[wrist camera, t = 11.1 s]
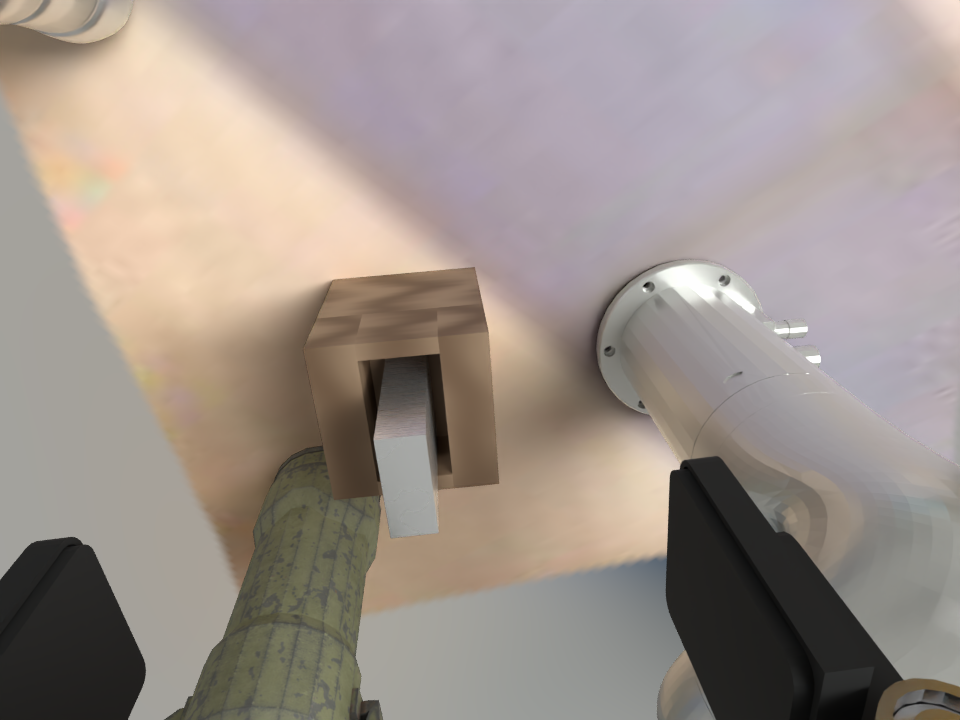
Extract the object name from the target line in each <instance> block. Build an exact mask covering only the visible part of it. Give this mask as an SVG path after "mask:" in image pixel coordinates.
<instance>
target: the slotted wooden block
mask: <svg viewBox="0 0 960 720" xmlns="http://www.w3.org/2000/svg"><path fill="white" fill-rule="evenodd" d="M303 352H304V357H305V362H306V366H307V371H308V376H309V381H310V386H311V391H312V396H313V401H314V405H315V410H316V415H317V420H318V425H319V430H320V435H321V440H322V444H323V449H324V454H325V459H326V464H327V469H328V474H329V478H330V483H331V488H332V493H333V498H334V500H340V499H350V498H360V497H370V496H380V495H383V492H382V486H381V480H380V474H379V469H378V463H377V457H376V451H375V446H374V433H375V427H376V420H377V413H378V407H379V400H380V393H381V387H382V380H383V373H384V366H385V360H386V358H397V357H408V356H419V355H427V357H428V365H429V373H430V381H431V389H432V397H433V405H434V413H435V421H436V429H437V466H438V490H440V489H450V488H460V487H470V486H480V485H490V484H499V476H498V461H497V447H496V433H495V418H494V404H493V389H492V375H491V360H490V346H489V332H488V327H487V323H486V318H485V313H484V309H483V304H482V299H481V295H480V290H479V285H478V280H477V276H476V271H475V267H473V268H462V269H451V270H439V271H428V272H417V273H405V274H394V275H383V276H371V277H360V278H349V279H337V280H333V282H332V284H331V286H330V289H329V291H328V293H327V295H326V298H325V300H324V302H323V305H322V307H321V309H320V311H319V314H318V316H317V318H316V321H315V323H314V325H313V327H312V330H311V332H310V334H309V336H308V339H307V341H306V343H305V346H304V348H303Z"/></svg>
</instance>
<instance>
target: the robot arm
mask: <svg viewBox="0 0 960 720" xmlns="http://www.w3.org/2000/svg"><path fill="white" fill-rule="evenodd" d="M721 276H722V278H721V279H720V280H719V278H720V277H721ZM646 282H648V285H647V286H645V287H644V286H643V285H644V284H645V283H646ZM806 333H807V325H806V322H805V321H804V319H792V320H784V321H780V322H774V321H773V320H772V319H770V318H769V317H767V316H766V315H765V314H764V313H763V310H762V306H761V303H760V301H759V299H758V297H757V295H756V293H755V292H754V290H753V289H752V288H751V287H750V286H749V285H748V283H747V282H746V281H745V280H744V279H742V278H741V277H740V276H738V275H737V274H736V273H734V272H733V271H731V270H729V269H727V268H726V267H724V266H722V265H719V264H716V263H713V262H709V261H703V260H694V259H690V260H679V261H673V262H669V263H666V264H662V265H659V266H656V267H654V268H652V269H650V270H648V271H646V272H644V273H642V274H641V275H639V276H638V277H637V278H635V279H634V280H632V281H631V282H629V283H628V284H627V285H626V286H625V287H624V288H623V289H622V290H621V291H620V292H619V293H618V294H617V296H616V297H615V298H614V300H613V301H612V303H611V304H610V305H609V307H608V308H607V310H606V313H605V315H604V317H603V319H602V321H601V324H600V328H599V331H598V335H597V347H596V353H597V359H598V365H599V368H600V371H601V373H602V376H603V378H604V380H605V382H606V383H607V385H608V387H609V389H610V390H611V391H612V392H613V393H614V394H615V396H616V397H617V398H618V399H619V400H620V401H622V402H623V403H624V404H626V405H627V406H628V407H630V408H632V409H634V410H636V411H638V412H641V413H644V414H648V415H650V416H651V417H652V419H653V421H654V422H655V424H656V425H657V427H658V429H659V430H660V432H661V434H662V435H663V437H664V438H665V440H666V442H667V443H668V445H669V447H670V448H671V450H672V451H673V453H674V455H675V456H676V458H677V459H678V461H679V463H680V464H681V465H680V470H673V471H671V474H670V488H669V515H668V543H667V571H666V600H667V605H668V609H669V613H670V615H671V618H672V620H673V623H674V625H675V627H676V629H677V632H678V634H679V636H680V638H681V641H682V643H683V646H684V648H685V650H684V651H683V652H682V653H681V654H680V656H679V657H678V658H677V659H676V660H675V662H674V663H673V664H672V666H671V667H670V668H669V670H668V671H667V673H666V675H665V677H664V679H663V682H662V684H661V686H660V690H659V694H658V700H657V718H658V720H960V466H959V465H957V464H956V463H954V462H952V461H950V460H948V459H947V458H945V457H943V456H941V455H940V454H938V453H936V452H935V451H933V450H931V449H930V448H928V447H926V446H925V445H923V444H922V443H920V442H918V441H917V440H915V439H913V438H912V437H910V436H908V435H907V434H905V433H904V432H903V431H901V430H900V429H898V428H897V427H896V426H894V425H893V424H891V423H890V422H889V421H887V420H886V419H884V418H883V417H882V416H880V415H879V414H877V413H876V412H875V411H873V410H872V409H871V408H869V407H868V406H867V405H865V404H864V403H863V402H862V401H860V400H859V399H858V398H856V397H855V396H854V395H853V394H851V393H850V392H849V391H848V390H846V389H845V388H844V387H842V386H841V385H840V384H839V383H837V382H836V381H835V380H834V379H832V378H831V377H830V376H828V375H827V374H826V373H825V372H823V371H822V370H821V369H820V368H819V365H820V354H819V351H818V349H817V348H816V347H815V346H813V345H807V346H796V347H792V346H791V345H789V344H788V343H787V342H786V341H784V340H783V338H785V339H793V338H803V337H805V336H806ZM608 346H610V347H609V348H608V349H605V348H606V347H608ZM640 400H641V401H640ZM145 673H146V668H145V662H144V659H143V657H142V654H141V652H140V650H139V648H138V646H137V644H136V642H135V639H134V637H133V635H132V633H131V631H130V628H129V626H128V624H127V622H126V620H125V618H124V615H123V613H122V611H121V609H120V607H119V604H118V602H117V600H116V598H115V596H114V594H113V592H112V589H111V587H110V585H109V583H108V581H107V579H106V576H105V575H104V572H103V570H102V568H101V565H100V564H99V561H98V559H97V557H96V555H95V552H94V551H93V549H92V548H91V547H90V546H89V545H83V544H82V542H81V541H80V540H79V539H77V538H75V537H68V538H59V539H52V540H44V541H36V542H34V543H31V544H30V545H29V546H28V547H27V548H26V549H25V550H24V551H23V553H22V554H21V555H20V557H19V558H18V559H17V560H16V561H15V562H14V564H13V565H12V566H11V567H10V569H9V570H8V571H7V572H6V574H5V575H4V576H3V577H2V579H1V580H0V720H128V718H129V716H130V713H131V711H132V709H133V707H134V704H135V702H136V700H137V698H138V696H139V693H140V691H141V689H142V686H143V684H144V681H145V675H146V674H145Z"/></svg>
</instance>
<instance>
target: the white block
mask: <svg viewBox="0 0 960 720" xmlns="http://www.w3.org/2000/svg"><path fill="white" fill-rule="evenodd" d="M374 446H375V451H376V457H377V463H378V469H379V474H380V480H381V486H382V492H383V497H384V503H385V509H386V514H387V520H388V526H389V532H390V537H391V538H397V537H406V536H416V535H425V534H434V533H439V522H438V466H437V429H436V421H435V413H434V405H433V397H432V389H431V381H430V373H429V365H428V357H427V355H419V356H408V357H397V358H386V360H385V366H384V373H383V380H382V387H381V393H380V400H379V407H378V413H377V420H376V427H375V433H374Z"/></svg>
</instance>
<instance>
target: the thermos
mask: <svg viewBox="0 0 960 720" xmlns="http://www.w3.org/2000/svg"><path fill="white" fill-rule="evenodd" d="M379 502H380V496H370V497H360V498H350V499H340V500H334V498H333V493H332V488H331V483H330V478H329V474H328V469H327V464H326V459H325V454H324V449H323V446H320V447H313V448H307V449H305V450H303V451H300V452H298V453H296V454H294V455H292V456H291V457H290V458H289V459H288V460H287V461H286V462H285V463H284V464H282V465H281V467H280V469H279V471H278V473H277V475H276V478H275V480H274V483H273V484H272V486H271V488H270V490H269V492H268V494H267V496H266V498H265V501H264V503H263V506H262V509H261V511H260V514H259V517H258V519H257V522H256V525H255V527H254V530H253V535H254V542H255V550H254V553H253V556H252V559H251V562H250V564H249V567H248V570H247V573H246V576H245V578H244V581H243V584H242V587H241V590H240V592H239V595H238V598H237V601H236V604H235V606H234V609H233V612H232V615H231V617H230V620H229V623H228V626H227V629H226V631H225V635H224V637H223V639H222V640H221V641H220V643H218V644H217V645H216V646H215V647H214V648H213V649H212V651H211V653H210V655H209V657H208V659H207V661H206V663H205V665H204V667H203V670H202V672H201V675H200V678H199V680H198V683H197V686H196V689H195V691H194V694H193V696H190V697H188V699H187V702H186V705H185V707H184V708H182V709H179V710H177V711H176V712H174V713H173V714H172V715H170V716H169V717H167V718H166V719H165V720H383V717H382V712H381V708H380V704H379V700H368V701H363V700H362V697H361V694H360V683H361V673H360V670H359V667H358V664H357V660H356V658H355V656H356V648H357V640H358V632H359V624H360V617H361V609H362V601H363V593H364V585H365V577H366V572H367V571H368V569H369V567H370V566H371V564H372V562H373V561H374V559H375V555H376V547H377V539H378V531H379V522H380V513H381V508H380V504H379Z"/></svg>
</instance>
